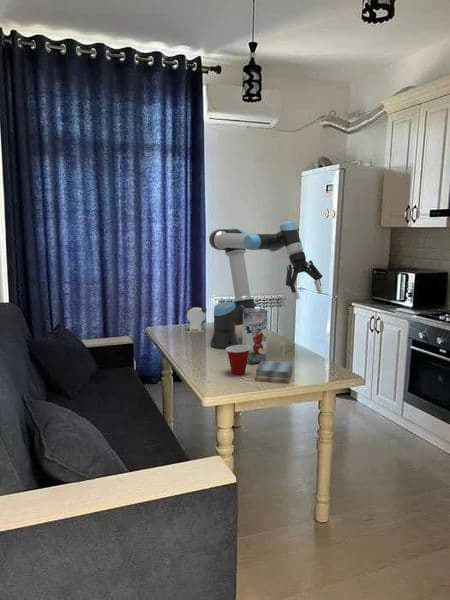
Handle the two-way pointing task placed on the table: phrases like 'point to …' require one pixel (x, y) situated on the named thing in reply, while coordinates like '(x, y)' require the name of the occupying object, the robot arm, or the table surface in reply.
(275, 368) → the build plate
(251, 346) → the juice carton
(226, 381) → the table surface
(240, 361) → the plastic cup
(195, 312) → the white rounded piece
